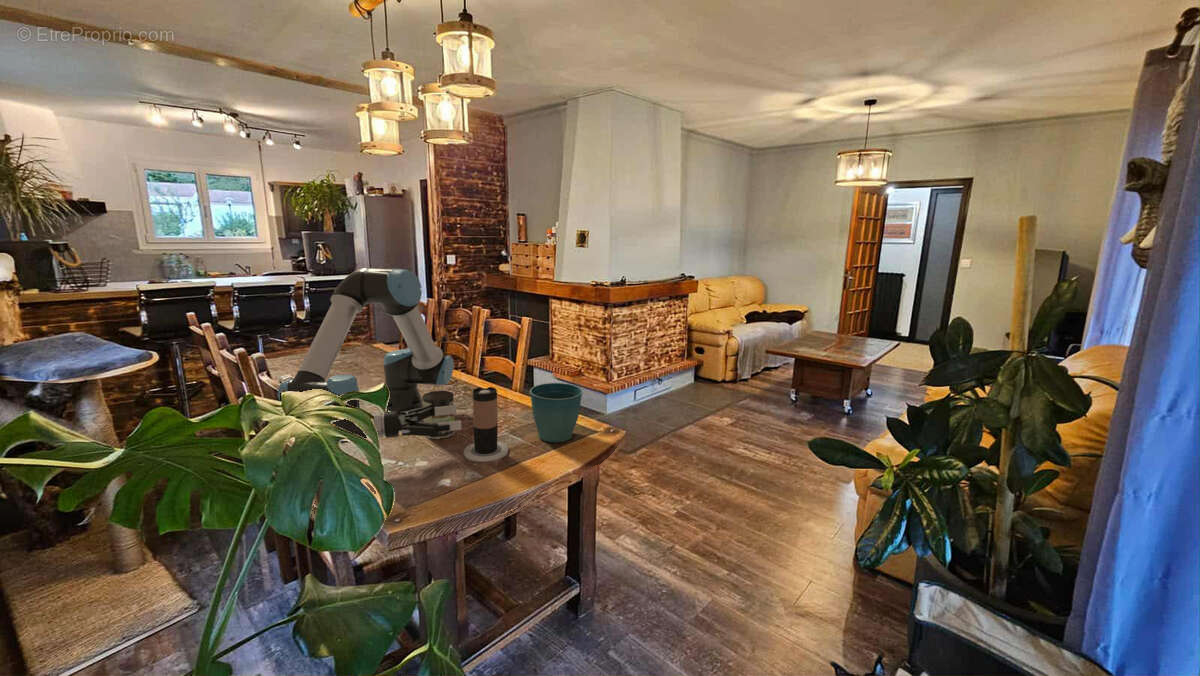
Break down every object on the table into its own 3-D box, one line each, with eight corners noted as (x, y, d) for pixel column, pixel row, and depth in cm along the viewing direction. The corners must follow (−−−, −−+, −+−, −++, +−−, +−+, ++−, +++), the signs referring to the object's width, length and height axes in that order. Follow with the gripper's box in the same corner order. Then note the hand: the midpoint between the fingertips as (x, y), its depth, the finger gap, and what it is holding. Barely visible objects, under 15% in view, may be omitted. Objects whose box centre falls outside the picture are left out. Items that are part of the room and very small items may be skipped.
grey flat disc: (461, 446, 157) (461, 443, 157) (503, 440, 163) (503, 438, 162) (466, 464, 145) (466, 462, 144) (512, 458, 150) (512, 455, 150)
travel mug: (485, 456, 148) (484, 395, 144) (468, 450, 152) (466, 391, 148) (503, 448, 155) (502, 389, 150) (486, 442, 159) (484, 385, 154)
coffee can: (460, 429, 171) (459, 391, 168) (445, 440, 161) (444, 401, 158) (434, 426, 173) (432, 389, 170) (418, 437, 163) (416, 398, 160)
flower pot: (553, 422, 180) (553, 379, 176) (591, 434, 170) (592, 389, 166) (519, 437, 165) (518, 391, 162) (558, 452, 155) (559, 403, 152)
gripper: (385, 421, 152) (454, 414, 160) (383, 455, 129) (464, 444, 137) (384, 399, 150) (453, 392, 158) (381, 429, 128) (463, 419, 136)
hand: (458, 416), depth 148 cm, fingers open, 13 cm apart
